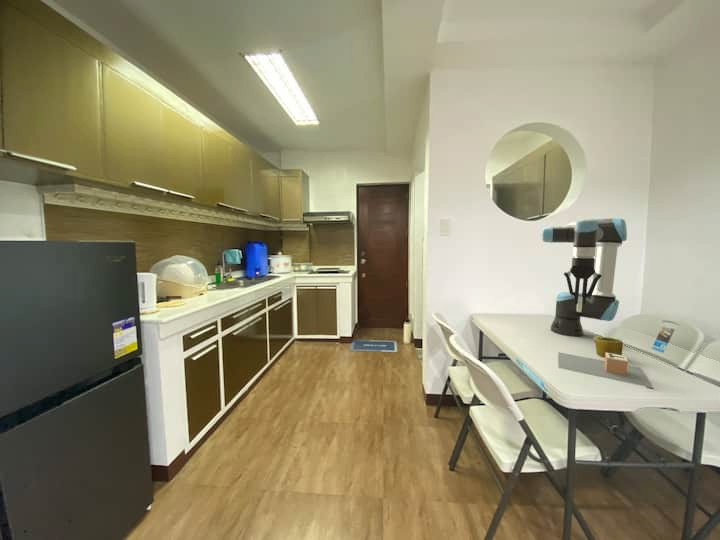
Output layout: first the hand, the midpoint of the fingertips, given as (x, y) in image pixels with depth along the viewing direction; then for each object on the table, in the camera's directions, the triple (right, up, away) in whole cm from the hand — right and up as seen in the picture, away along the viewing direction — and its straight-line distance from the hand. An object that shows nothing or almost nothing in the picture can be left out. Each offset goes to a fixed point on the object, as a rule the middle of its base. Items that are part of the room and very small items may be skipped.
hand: (578, 311), depth 122 cm
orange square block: (+8, -17, -9) cm, 21 cm away
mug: (+19, -22, +9) cm, 30 cm away
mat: (+4, -23, -5) cm, 24 cm away
